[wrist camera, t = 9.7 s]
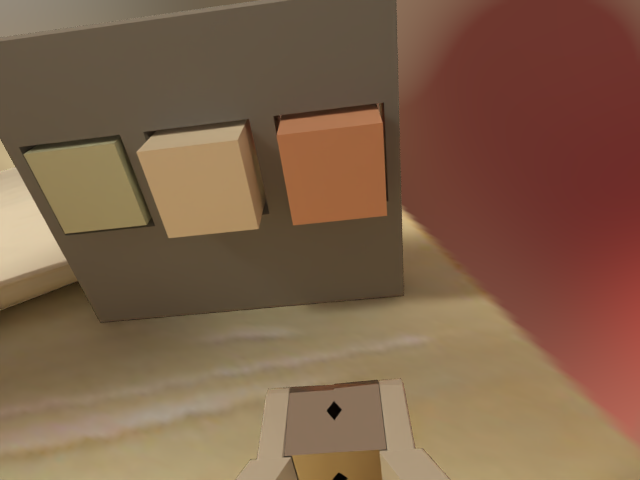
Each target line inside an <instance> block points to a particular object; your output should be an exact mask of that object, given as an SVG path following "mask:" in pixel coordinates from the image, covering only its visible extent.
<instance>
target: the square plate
mask: <svg viewBox="0 0 640 480" xmlns="http://www.w3.org/2000/svg"><path fill="white" fill-rule="evenodd" d="M77 281H78V280H77V279H76V277H75V275H74V273H73V271H72V269H71V268H70V266H69V264H68V262H67V260H66V258H65V257H64V255H63V253H62V251H61V249H60V247H59V246H58V244H57V242H56V240H55V238H54V236H53V235H52V233H51V231H50V229H49V227H48V225H47V224H46V222H45V220H44V218H43V216H42V214H41V213H40V211H39V209H38V207H37V205H36V203H35V202H34V200H33V198H32V196H31V194H30V192H29V191H28V189H27V187H26V185H25V183H24V181H23V180H22V178H21V176H20V174H19V172H18V170H17V169H16V167H14V168H10V169H6V170H2V171H0V311H1V310H3V309H6V308H8V307H11V306H14V305H16V304H19V303H22V302H24V301H27V300H29V299H32V298H35V297H37V296H40V295H43V294H45V293H48V292H51V291H53V290H56V289H58V288H61V287H64V286H66V285H69V284H72V283H74V282H77Z"/></svg>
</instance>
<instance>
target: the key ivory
mask: <svg viewBox="0 0 640 480" xmlns="http://www.w3.org/2000/svg"><path fill="white" fill-rule="evenodd" d="M136 153H137V155H138V158H139V161H140V163H141V166H142V169H143V171H144V174H145V177H146V179H147V182H148V185H149V187H150V190H151V193H152V195H153V198H154V201H155V203H156V206H157V209H158V211H159V214H160V217H161V219H162V222H163V225H164V227H165V230H166V233H167V235H168V238H176V237H186V236H195V235H205V234H215V233H225V232H234V231H244V230H254V229H259V225H260V221H261V217H262V213H263V209H264V204H265V200H266V196H265V191H264V186H263V182H262V177H261V172H260V168H259V163H258V159H257V154H256V149H255V145H254V140H253V135H252V131H251V126H250V122H249V119H244V120H236V121H228V122H220V123H212V124H204V125H195V126H187V127H179V128H171V129H163V130H157V131H156V132H155V133H154V134H153V135H152V136H151V137H150V138H149V139H148V140H147V141H146V142H145V143H144V145H143V146H142V147H141V148H140V149H139V150H138V151H137V152H136Z"/></svg>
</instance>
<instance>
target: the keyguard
mask: <svg viewBox="0 0 640 480" xmlns="http://www.w3.org/2000/svg"><path fill="white" fill-rule="evenodd" d="M396 11H397V10H396V0H259V1H252V2H245V3H239V4H231V5H224V6H218V7H210V8H203V9H196V10H189V11H183V12H176V13H168V14H161V15H154V16H147V17H140V18H133V19H126V20H119V21H112V22H105V23H99V24H92V25H85V26H77V27H70V28H63V29H56V30H50V31H42V32H35V33H28V34H21V35H14V36H7V37H1V38H0V139H1V141H2V143H3V145H4V147H5V149H6V150H7V152H8V154H9V156H10V158H11V160H12V161H13V163H14V165H15V167H16V169H17V170H18V172H19V174H20V176H21V178H22V180H23V181H24V183H25V185H26V187H27V189H28V191H29V192H30V194H31V196H32V198H33V200H34V202H35V203H36V205H37V207H38V209H39V211H40V213H41V214H42V216H43V218H44V220H45V222H46V224H47V225H48V227H49V229H50V231H51V233H52V235H53V236H54V238H55V240H56V242H57V244H58V246H59V247H60V249H61V251H62V253H63V255H64V257H65V258H66V260H67V262H68V264H69V266H70V268H71V269H72V271H73V273H74V275H75V277H76V279H77V280H78V282H79V284H80V286H81V288H82V290H83V291H84V293H85V295H86V297H87V299H88V301H89V302H90V304H91V306H92V308H93V310H94V312H95V313H96V315H97V317H98V319H99V321H100V322H111V321H122V320H133V319H144V318H155V317H167V316H178V315H189V314H200V313H211V312H223V311H234V310H245V309H256V308H267V307H279V306H290V305H301V304H312V303H324V302H335V301H346V300H357V299H368V298H380V297H391V296H402V295H404V285H403V246H402V206H401V171H400V169H401V168H400V131H399V130H400V128H399V91H398V54H397V53H398V50H397V12H396ZM375 103H379V107H380V116H381V119H382V122H383V138H384V159H385V181H386V202H387V216H380V217H370V218H360V219H351V220H341V221H331V222H322V223H312V224H302V225H293V222H292V217H291V211H290V206H289V201H288V195H287V190H286V184H285V179H284V174H283V168H282V163H281V157H280V152H279V146H278V141H277V136H276V135H277V131H278V128H279V124H280V120H281V118H280V115H285V114H294V113H302V112H310V111H318V110H326V109H334V108H343V107H351V106H359V105H367V104H375ZM244 119H249V122H250V126H251V131H252V135H253V140H254V145H255V149H256V154H257V159H258V163H259V168H260V172H261V177H262V182H263V186H264V191H265V196H266V200H265V204H264V209H263V213H262V217H261V221H260V225H259V229H254V230H244V231H234V232H225V233H215V234H205V235H195V236H186V237H176V238H168V235H167V233H166V230H165V227H164V225H163V222H162V219H161V217H160V214H159V211H158V209H157V206H156V203H155V201H154V198H153V195H152V193H151V190H150V187H149V185H148V182H147V179H146V177H145V174H144V171H143V169H142V166H141V163H140V161H139V158H138V155H137V153H136V152H137V151H138V150H139V149H140V148H141V147H142V146H143V145H144V143H145V142H146V141H147V140H148V139H149V138H150V137H151V136H152V135H153V134H154V133H155V132H156V131H157V130H163V129H171V128H179V127H187V126H195V125H204V124H212V123H220V122H228V121H236V120H244ZM114 135H120V136H121V139H122V142H123V144H124V147H125V149H126V152H127V154H128V157H129V160H130V162H131V165H132V167H133V170H134V172H135V175H136V178H137V180H138V183H139V185H140V188H141V191H142V193H143V196H144V198H145V201H146V203H147V206H148V209H149V211H150V214H151V216H152V218H151V219H150V221H149V222H148V224H147V225H142V226H133V227H123V228H114V229H105V230H95V231H86V232H76V233H67V234H65V233H64V231H63V229H62V227H61V225H60V223H59V221H58V219H57V217H56V215H55V214H54V212H53V210H52V208H51V206H50V204H49V202H48V200H47V198H46V196H45V195H44V193H43V191H42V189H41V187H40V185H39V183H38V181H37V179H36V177H35V176H34V174H33V172H32V170H31V168H30V166H29V164H28V162H27V160H26V158H25V157H24V155H23V154H25V153H26V152H28V151H29V150H31V149H32V148H34V147H35V146H37V145H40V144H48V143H56V142H65V141H73V140H81V139H89V138H97V137H106V136H114Z"/></svg>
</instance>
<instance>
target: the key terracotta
mask: <svg viewBox="0 0 640 480" xmlns="http://www.w3.org/2000/svg"><path fill="white" fill-rule="evenodd" d="M276 136H277V141H278V146H279V152H280V157H281V163H282V168H283V174H284V179H285V184H286V190H287V195H288V201H289V206H290V211H291V217H292V222H293V225H302V224H312V223H322V222H331V221H341V220H351V219H360V218H370V217H380V216H387V202H386V181H385V159H384V138H383V122H382V119H381V116H380V113H379V110H378V108H377V105H376V103H375V104H367V105H359V106H351V107H343V108H334V109H326V110H318V111H310V112H302V113H294V114H285V115H282V116H281V120H280V124H279V128H278V131H277V135H276Z"/></svg>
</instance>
